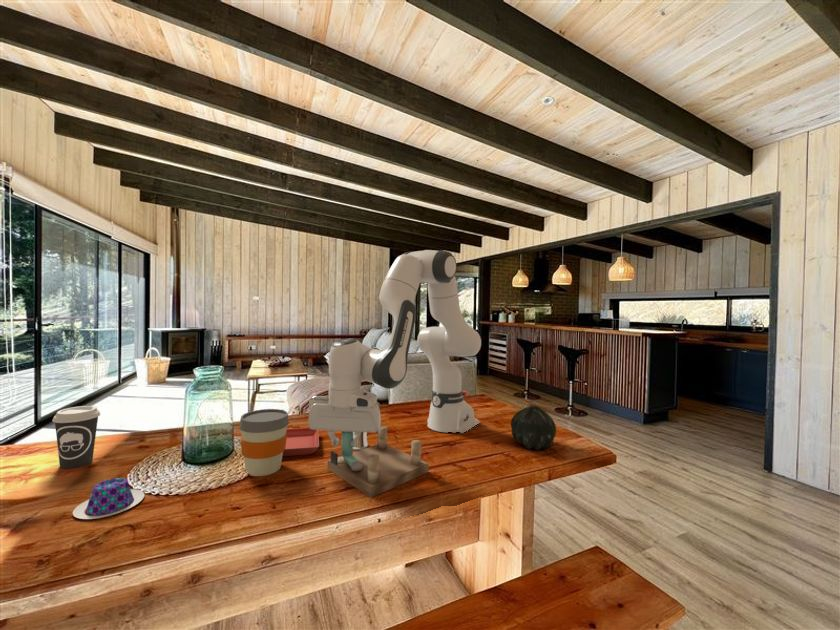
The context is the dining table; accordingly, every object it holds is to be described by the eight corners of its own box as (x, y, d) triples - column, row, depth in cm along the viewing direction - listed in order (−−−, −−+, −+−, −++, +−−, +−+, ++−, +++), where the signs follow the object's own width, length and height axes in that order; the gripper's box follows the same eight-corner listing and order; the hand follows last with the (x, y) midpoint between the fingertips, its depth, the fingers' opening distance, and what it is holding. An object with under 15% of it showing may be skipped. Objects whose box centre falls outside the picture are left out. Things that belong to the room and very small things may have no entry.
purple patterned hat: (107, 525, 72) (107, 500, 72) (56, 519, 73) (56, 494, 73) (157, 494, 84) (158, 472, 84) (112, 490, 85) (112, 468, 85)
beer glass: (364, 451, 112) (365, 404, 112) (344, 449, 113) (345, 402, 113) (371, 443, 119) (373, 399, 119) (352, 441, 120) (353, 397, 120)
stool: (383, 450, 113) (383, 424, 113) (428, 472, 99) (429, 442, 99) (327, 469, 99) (328, 439, 99) (370, 497, 85) (371, 462, 85)
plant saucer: (317, 435, 125) (318, 426, 125) (319, 456, 108) (319, 445, 108) (262, 439, 120) (262, 430, 120) (254, 462, 103) (254, 451, 103)
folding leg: (364, 469, 93) (365, 441, 93) (353, 472, 91) (354, 443, 91) (350, 454, 103) (351, 428, 102) (339, 456, 101) (340, 430, 101)
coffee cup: (107, 459, 101) (108, 407, 100) (65, 474, 92) (65, 416, 91) (86, 454, 104) (87, 403, 104) (43, 467, 95) (43, 412, 95)
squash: (534, 419, 133) (518, 392, 127) (570, 433, 121) (554, 404, 115) (513, 449, 128) (495, 423, 122) (548, 466, 116) (530, 438, 110)
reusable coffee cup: (256, 484, 90) (257, 425, 89) (228, 470, 96) (229, 416, 96) (297, 466, 100) (298, 413, 100) (269, 455, 107) (270, 406, 107)
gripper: (304, 398, 97) (304, 448, 97) (377, 401, 95) (377, 452, 95) (313, 392, 103) (313, 439, 104) (382, 395, 101) (382, 443, 101)
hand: (344, 445), depth 99 cm, fingers open, 4 cm apart
